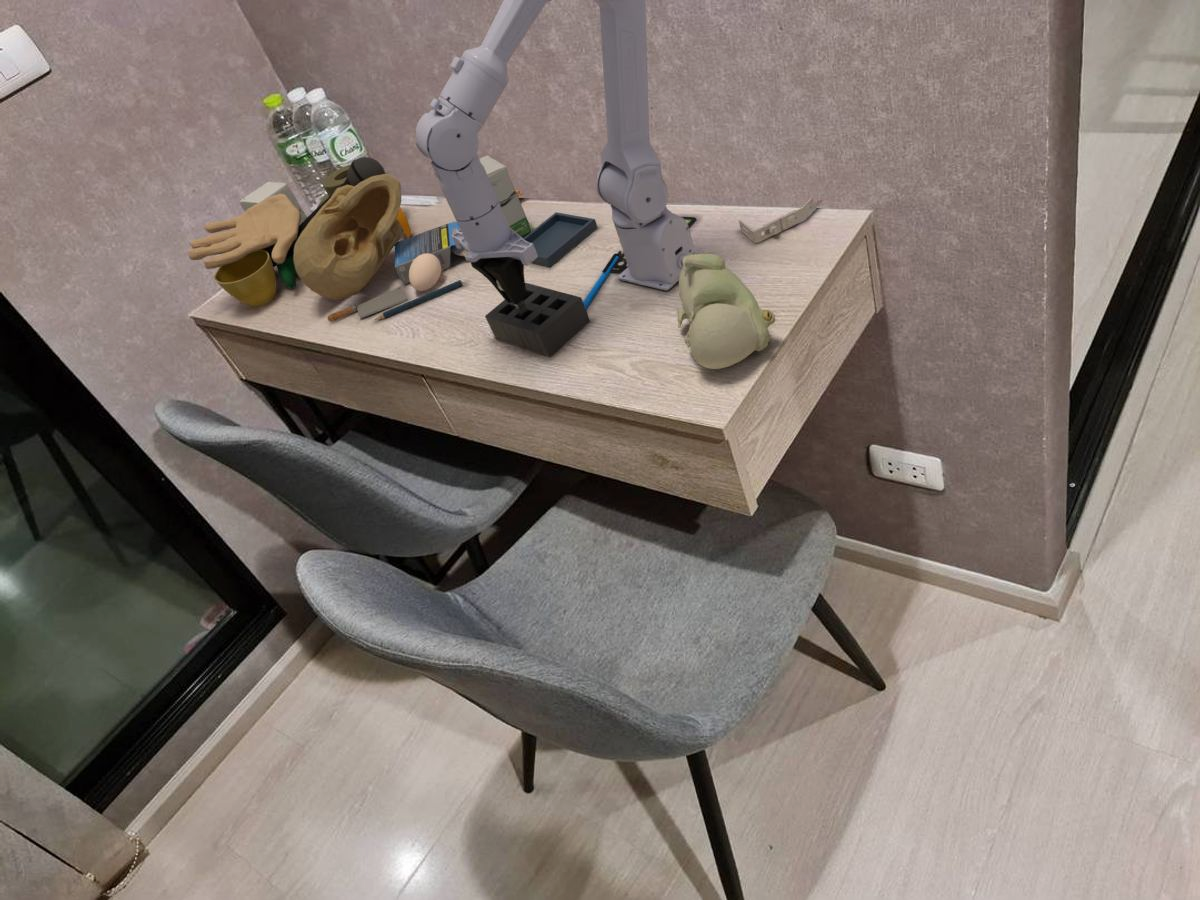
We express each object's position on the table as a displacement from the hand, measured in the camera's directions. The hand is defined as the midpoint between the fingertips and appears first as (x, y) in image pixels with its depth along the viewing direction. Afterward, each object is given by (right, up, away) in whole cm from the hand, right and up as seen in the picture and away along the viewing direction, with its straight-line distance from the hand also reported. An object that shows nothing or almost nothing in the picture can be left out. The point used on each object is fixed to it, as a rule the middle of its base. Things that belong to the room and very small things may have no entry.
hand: (517, 299), depth 113 cm
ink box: (-4, +17, +30) cm, 34 cm away
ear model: (-24, +18, +19) cm, 36 cm away
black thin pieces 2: (-57, +13, +41) cm, 71 cm away
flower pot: (-50, +7, +41) cm, 65 cm away
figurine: (+21, -4, -12) cm, 24 cm away
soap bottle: (-41, +26, +53) cm, 72 cm away
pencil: (-11, +6, +21) cm, 25 cm away
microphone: (-43, +18, +40) cm, 62 cm away
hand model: (-43, +24, +38) cm, 62 cm away
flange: (-29, +25, +37) cm, 54 cm away
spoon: (+1, -3, +3) cm, 5 cm away
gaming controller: (-41, +11, +42) cm, 60 cm away
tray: (+4, +13, +22) cm, 26 cm away
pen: (+10, +2, +8) cm, 13 cm away
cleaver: (-26, +1, +23) cm, 35 cm away
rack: (+3, -3, +5) cm, 7 cm away
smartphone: (+19, +10, +13) cm, 25 cm away
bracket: (+45, +17, +5) cm, 48 cm away
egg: (-16, +11, +25) cm, 32 cm away
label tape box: (-23, +11, +29) cm, 39 cm away
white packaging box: (-48, +19, +53) cm, 74 cm away
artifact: (-11, +18, +33) cm, 39 cm away
